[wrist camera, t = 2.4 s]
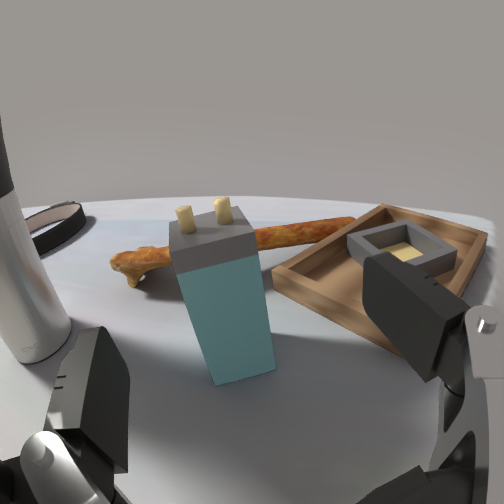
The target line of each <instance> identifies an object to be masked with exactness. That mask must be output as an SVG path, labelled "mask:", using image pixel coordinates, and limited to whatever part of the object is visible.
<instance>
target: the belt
mask: <svg viewBox="0 0 504 504" xmlns="http://www.w3.org/2000/svg"><path fill="white" fill-rule="evenodd" d="M53 206H54V207H53ZM63 219H66V220H64V221H63V222H61V223H60V224H58V225H56V226H55V227H53V228H51V229H50V230H48V231H46V232H44V233H42V234H40V235H38V236H36V237H34V238H32V240H33V242H34V245H35V247H36V250H37V252H38V255H39V256H40V255H42V254H44V253H46V252H48V251H50V250H52V249H53V248H55V247H57V246H58V245H60V244H62V243H63V242H65V241H66V240H68V239H69V238H70V237H72V236H73V235H74V234H76V233H77V232H78V231H79V230H80V229H81V228H82V227H83V226H84V224H85V223H86V218H85V215H84V212H83V209H82V206H81V204H79V203H75V202H74V201H73V202H69V201H63V202H60V203H56V204H53V205H50V208H48V209H46V210H43V211H41V212H39V213H36V214H34V215H32V216H30V217H28V218H26V219H25V222H26V224H27V227H28V230H29V232H32V231H34V230H36V229H38V228H40V227H43V226H45V225H47V224H50V223H53V222H56V221H59V220H63Z"/></svg>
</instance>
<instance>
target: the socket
mask: <svg viewBox="0 0 504 504" xmlns="http://www.w3.org/2000/svg"><path fill="white" fill-rule="evenodd" d="M385 251H388V252H390V253H392V254H393V255H395V256H396V257H397V258H399V259H400V260H401V261H403V262H407V263H410V264H412V265H415V266H417V267H419V268H421V269H422V270H423V271H425V272H426V273H427V274H429V275H430V277H433V278H434V277H437V276H439V275H441V274H444V273H446V272H448V271H450V270H453V269H454V267H455V262H456V257H457V251H458V249H456V248H455V247H453V246H452V245H450V244H449V243H447V242H445V241H444V240H442V239H441V238H439V237H437V236H436V235H434V234H432V233H431V232H429V231H427V230H426V229H424V228H422V227H421V226H419V225H417V224H415V223H414V222H412V221H410V220H409V219H405V220H401V221H397V222H393V223H389V224H386V225H382V226H378V227H374V228H370V229H367V230H363V231H359V232H355V233H351V234H347V254H349V255H350V256H351V257H352V258H353V259H354V260H355V261H356V262H357V263H359V264H360V265H361V266H362V267H363V263H364V260H365V258H366V257H369V256H372V255H376V254H379V253H382V252H385Z"/></svg>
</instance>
